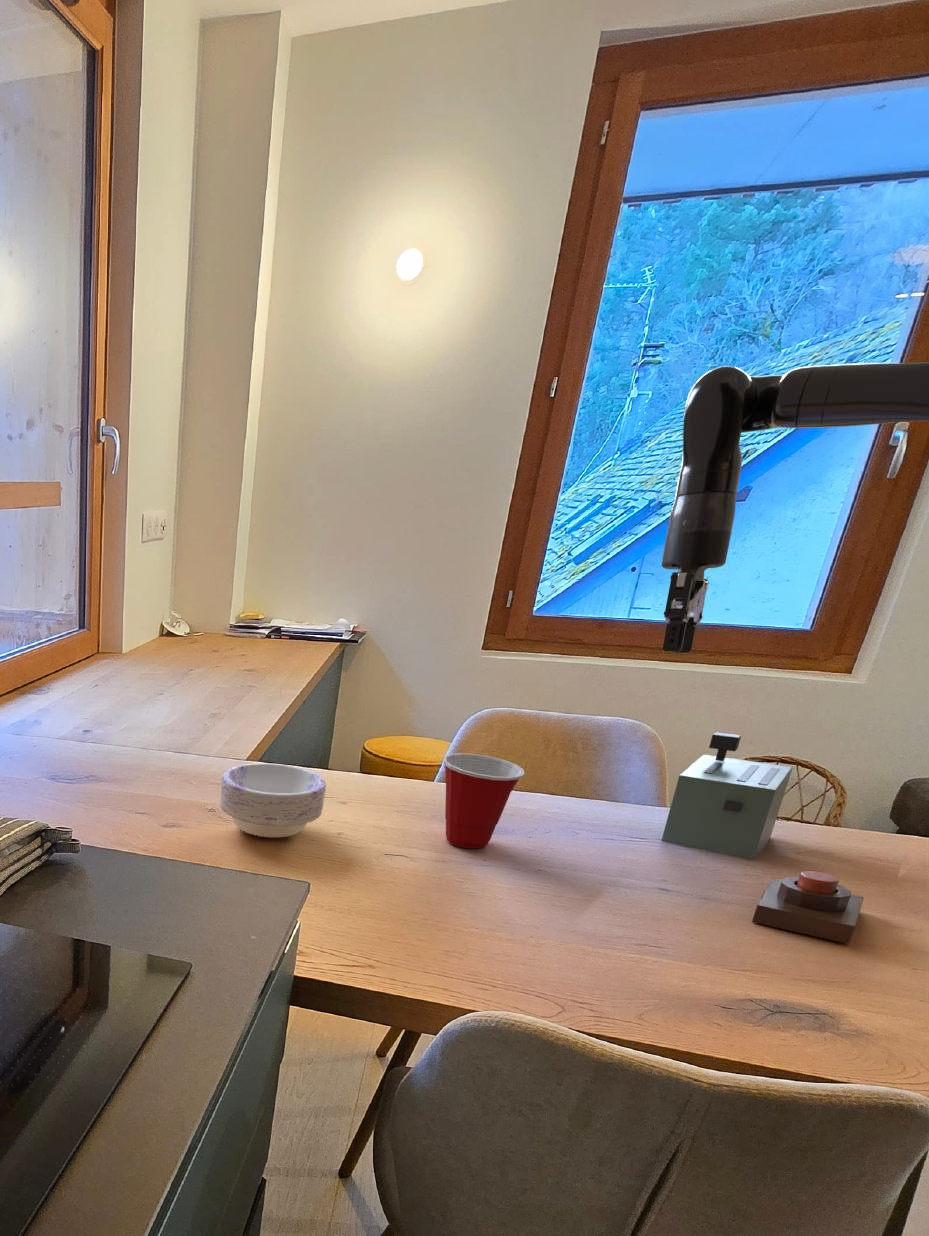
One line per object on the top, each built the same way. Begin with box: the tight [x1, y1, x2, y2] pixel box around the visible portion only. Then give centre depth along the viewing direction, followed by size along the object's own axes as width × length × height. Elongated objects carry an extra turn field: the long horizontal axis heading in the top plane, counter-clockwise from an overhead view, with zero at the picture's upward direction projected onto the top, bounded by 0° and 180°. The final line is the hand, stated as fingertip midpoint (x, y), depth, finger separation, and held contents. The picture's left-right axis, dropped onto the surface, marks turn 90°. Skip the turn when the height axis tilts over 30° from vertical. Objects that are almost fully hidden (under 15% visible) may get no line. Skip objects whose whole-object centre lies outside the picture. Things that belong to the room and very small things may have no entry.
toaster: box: [660, 754, 793, 861], centre depth 133 cm, size 18×11×11 cm, turn 137°
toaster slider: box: [708, 731, 742, 761], centre depth 135 cm, size 2×3×4 cm
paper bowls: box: [219, 762, 327, 838], centre depth 139 cm, size 15×15×8 cm
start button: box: [796, 870, 840, 894], centre depth 109 cm, size 4×4×2 cm
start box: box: [751, 876, 865, 945], centre depth 110 cm, size 12×9×4 cm
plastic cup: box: [443, 752, 526, 849], centre depth 133 cm, size 11×11×12 cm
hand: (677, 652), depth 133 cm, fingers open, 8 cm apart
